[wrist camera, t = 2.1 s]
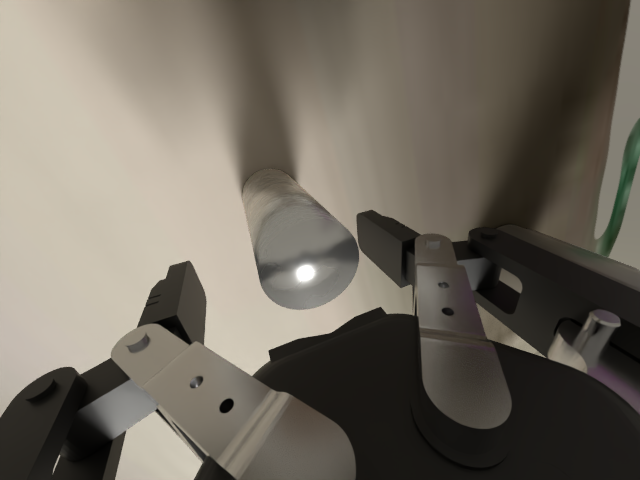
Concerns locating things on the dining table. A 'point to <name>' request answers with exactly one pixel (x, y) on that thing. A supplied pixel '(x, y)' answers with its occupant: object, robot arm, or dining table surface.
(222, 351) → the dining table surface
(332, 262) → the peg
